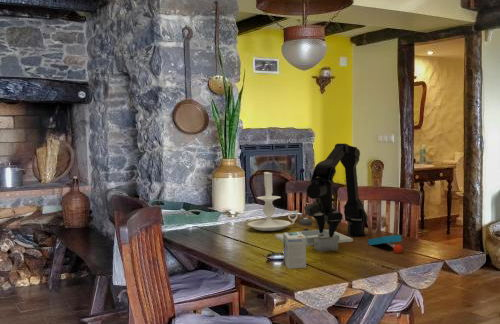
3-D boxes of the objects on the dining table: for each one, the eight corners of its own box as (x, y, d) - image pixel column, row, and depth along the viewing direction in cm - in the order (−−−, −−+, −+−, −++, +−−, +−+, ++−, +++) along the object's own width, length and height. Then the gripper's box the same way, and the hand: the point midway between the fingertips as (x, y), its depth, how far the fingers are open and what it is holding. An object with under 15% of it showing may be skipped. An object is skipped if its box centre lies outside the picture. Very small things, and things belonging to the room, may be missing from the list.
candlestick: (304, 232, 254) (303, 171, 252) (252, 235, 250) (250, 174, 248) (293, 224, 274) (291, 168, 272) (244, 227, 270) (242, 170, 268)
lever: (370, 256, 223) (392, 254, 206) (367, 239, 225) (389, 235, 208) (385, 255, 225) (408, 252, 208) (382, 238, 227) (405, 233, 210)
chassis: (330, 232, 252) (330, 225, 252) (353, 241, 231) (353, 233, 230) (274, 237, 244) (274, 230, 244) (293, 247, 223) (292, 239, 223)
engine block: (332, 247, 221) (332, 232, 221) (338, 250, 216) (337, 235, 216) (314, 249, 219) (313, 234, 218) (319, 252, 214) (319, 236, 213)
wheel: (309, 222, 248) (308, 216, 248) (314, 224, 242) (313, 218, 242) (297, 223, 246) (297, 217, 246) (302, 225, 241) (302, 219, 241)
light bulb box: (283, 261, 200) (282, 232, 200) (301, 260, 201) (300, 231, 200) (287, 269, 190) (287, 238, 189) (307, 268, 190) (306, 237, 190)
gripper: (297, 194, 223) (298, 232, 224) (315, 200, 205) (316, 241, 206) (322, 192, 226) (323, 230, 227) (343, 198, 208) (343, 238, 209)
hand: (325, 234), depth 217 cm, fingers open, 9 cm apart
